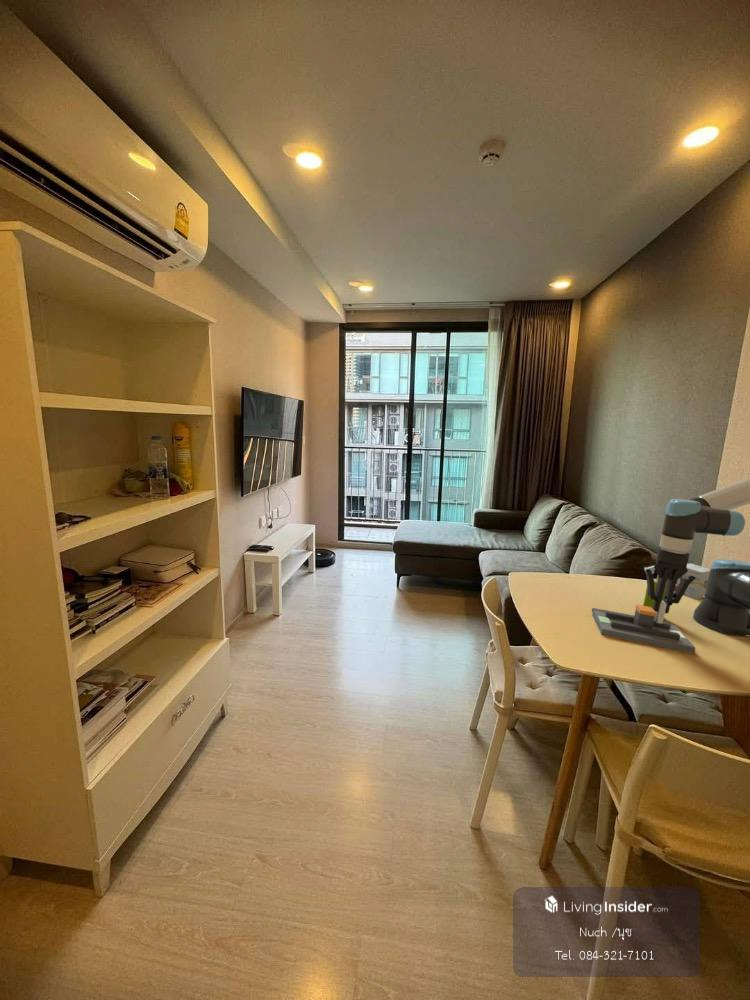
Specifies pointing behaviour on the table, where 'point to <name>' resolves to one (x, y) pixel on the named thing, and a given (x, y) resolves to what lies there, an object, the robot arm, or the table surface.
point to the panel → (643, 637)
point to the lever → (644, 616)
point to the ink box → (696, 581)
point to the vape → (648, 600)
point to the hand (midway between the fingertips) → (658, 621)
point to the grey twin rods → (611, 611)
